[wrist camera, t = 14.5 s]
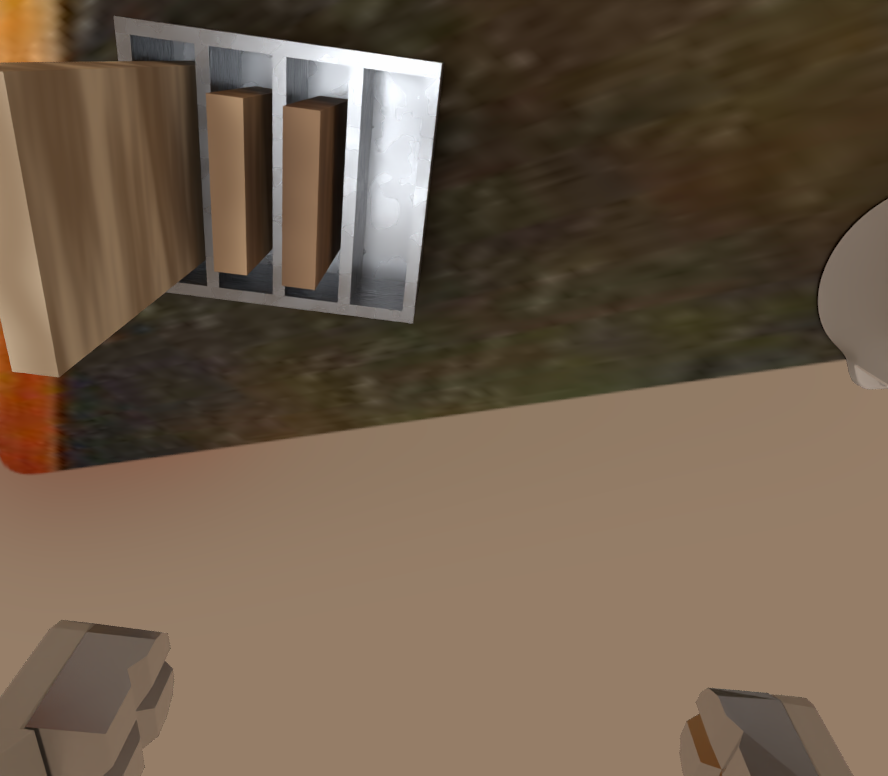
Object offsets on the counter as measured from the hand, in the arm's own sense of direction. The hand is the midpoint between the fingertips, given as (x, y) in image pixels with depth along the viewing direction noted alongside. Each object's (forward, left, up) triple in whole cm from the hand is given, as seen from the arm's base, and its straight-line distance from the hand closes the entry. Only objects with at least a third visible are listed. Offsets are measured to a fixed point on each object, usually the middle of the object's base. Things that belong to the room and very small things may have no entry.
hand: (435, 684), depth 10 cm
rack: (+11, 0, -41) cm, 43 cm away
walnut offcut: (+9, 0, -40) cm, 41 cm away
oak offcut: (+13, 0, -40) cm, 42 cm away
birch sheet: (+17, 0, -40) cm, 43 cm away
